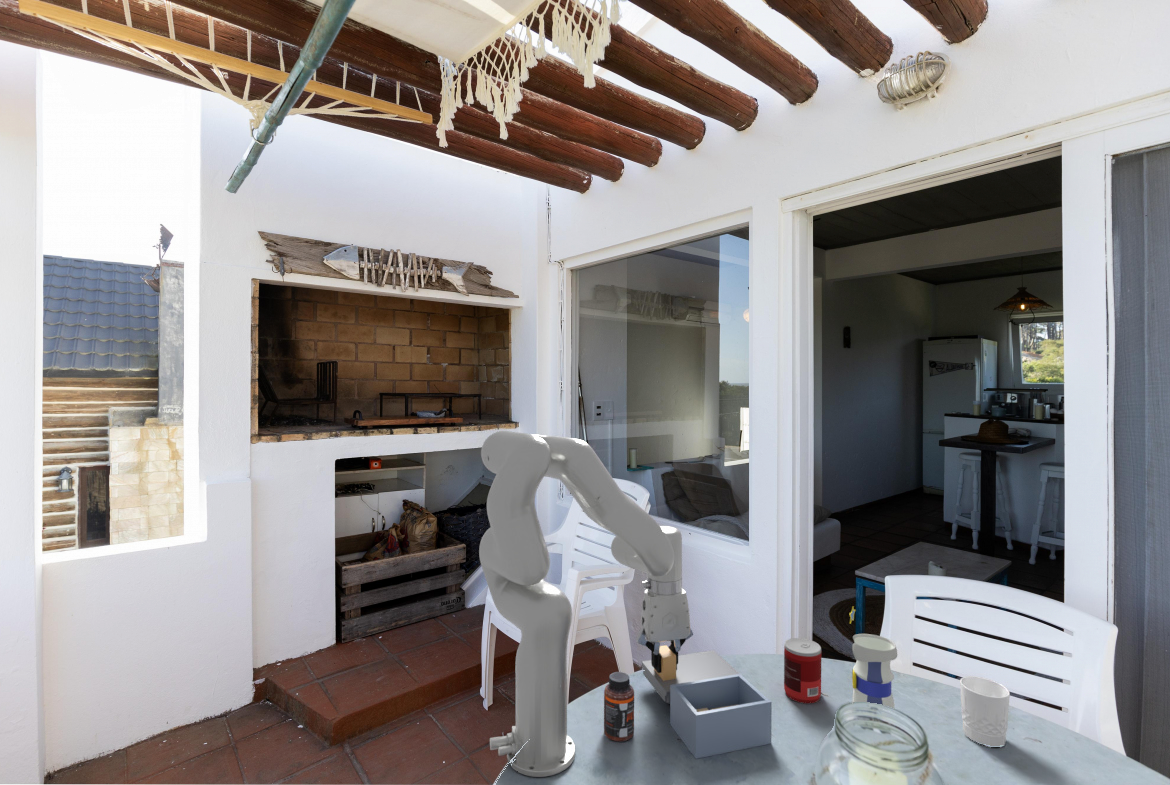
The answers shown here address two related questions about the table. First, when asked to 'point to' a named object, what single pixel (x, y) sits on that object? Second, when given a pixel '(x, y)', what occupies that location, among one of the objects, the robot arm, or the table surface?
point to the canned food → (802, 670)
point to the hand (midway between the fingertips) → (664, 667)
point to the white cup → (984, 710)
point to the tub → (720, 715)
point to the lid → (685, 669)
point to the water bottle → (872, 668)
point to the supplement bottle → (619, 707)
